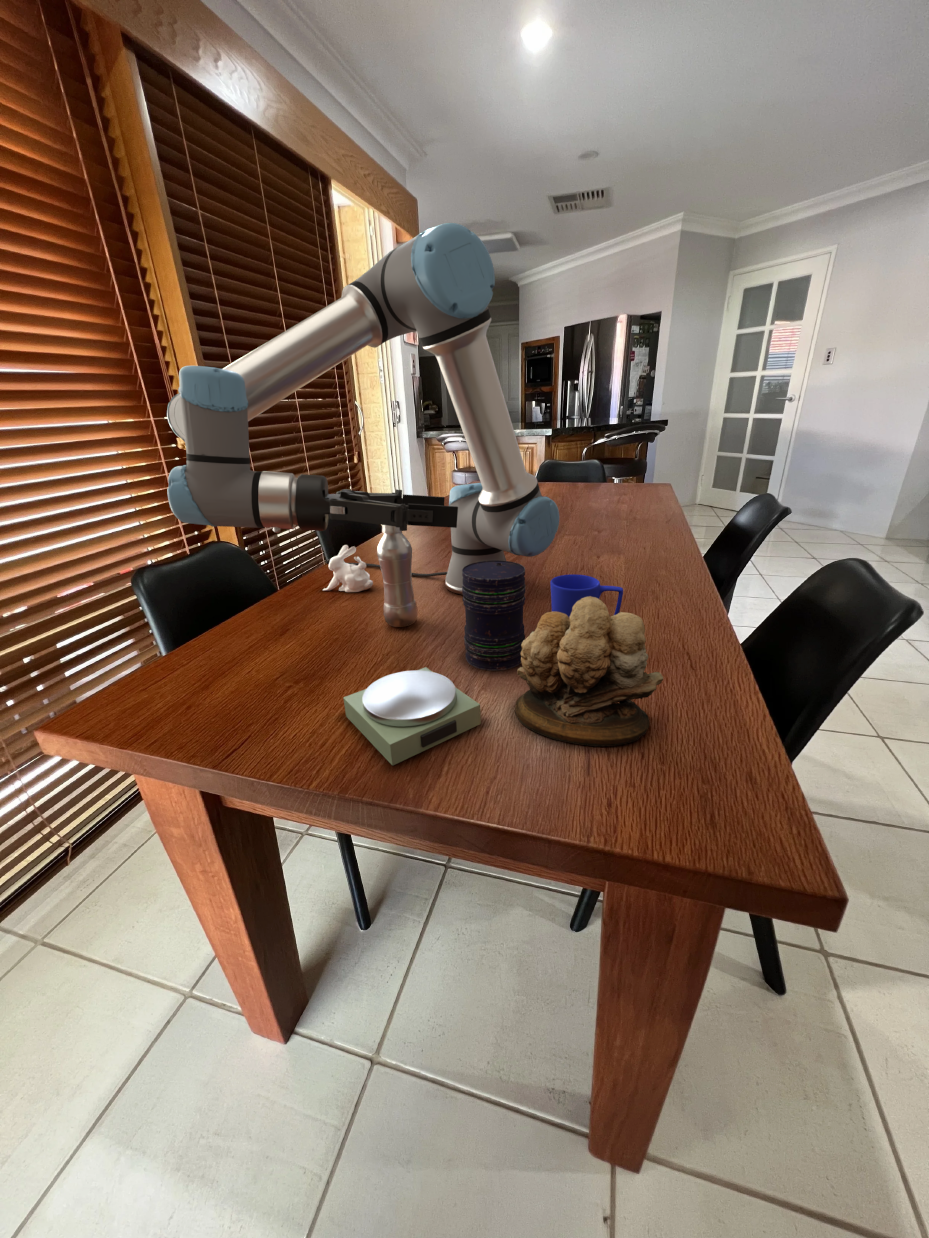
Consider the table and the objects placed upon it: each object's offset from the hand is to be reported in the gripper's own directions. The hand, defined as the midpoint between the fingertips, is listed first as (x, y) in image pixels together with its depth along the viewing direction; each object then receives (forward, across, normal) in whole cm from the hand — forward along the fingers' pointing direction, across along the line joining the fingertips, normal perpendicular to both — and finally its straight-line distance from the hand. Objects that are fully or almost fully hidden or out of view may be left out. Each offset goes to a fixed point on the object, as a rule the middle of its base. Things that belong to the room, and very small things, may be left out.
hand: (450, 511), depth 72 cm
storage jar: (+9, -1, -23) cm, 25 cm away
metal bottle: (-5, -18, -24) cm, 31 cm away
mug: (+26, -5, -21) cm, 34 cm away
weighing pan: (-6, +15, -23) cm, 28 cm away
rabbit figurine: (-16, -43, -24) cm, 52 cm away
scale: (-6, +15, -26) cm, 30 cm away
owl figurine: (+16, +19, -24) cm, 35 cm away
